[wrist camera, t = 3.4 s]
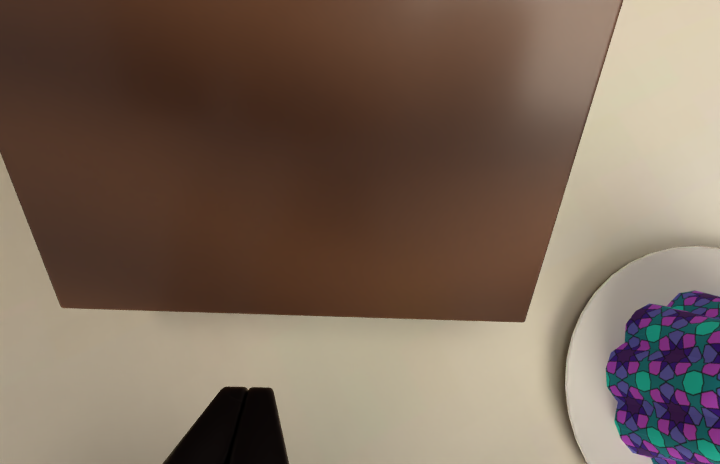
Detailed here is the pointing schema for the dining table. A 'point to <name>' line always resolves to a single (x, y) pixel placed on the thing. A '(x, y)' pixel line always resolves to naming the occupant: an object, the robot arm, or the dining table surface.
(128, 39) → the lid
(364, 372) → the dining table surface
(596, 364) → the pudding
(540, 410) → the dining table surface
